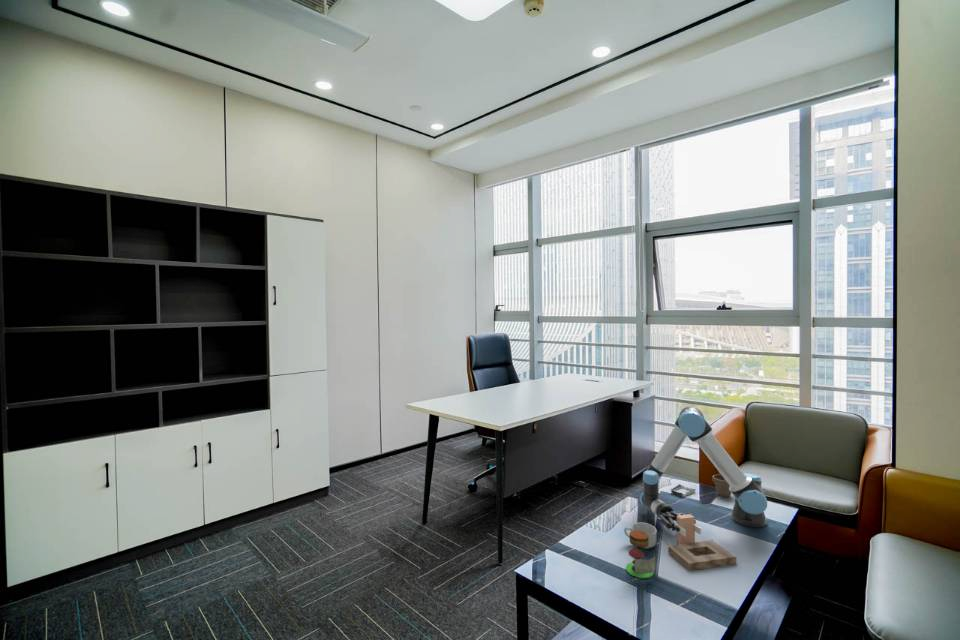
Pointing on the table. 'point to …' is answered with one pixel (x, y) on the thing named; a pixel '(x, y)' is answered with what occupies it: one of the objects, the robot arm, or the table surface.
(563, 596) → the table surface
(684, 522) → the salmon rectangular block
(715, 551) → the slotted rack
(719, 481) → the flower pot
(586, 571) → the table surface
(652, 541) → the teacup
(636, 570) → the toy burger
